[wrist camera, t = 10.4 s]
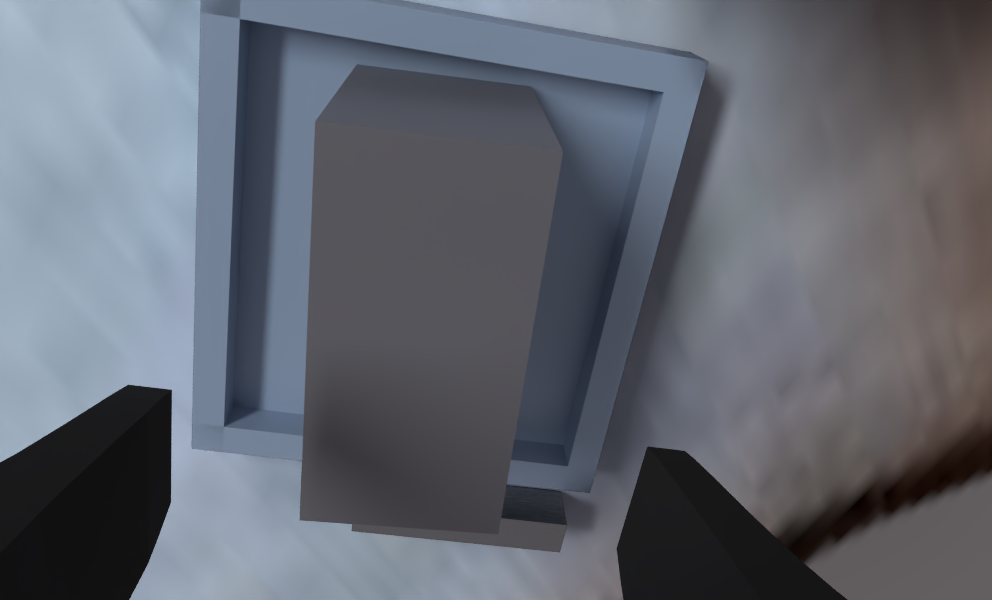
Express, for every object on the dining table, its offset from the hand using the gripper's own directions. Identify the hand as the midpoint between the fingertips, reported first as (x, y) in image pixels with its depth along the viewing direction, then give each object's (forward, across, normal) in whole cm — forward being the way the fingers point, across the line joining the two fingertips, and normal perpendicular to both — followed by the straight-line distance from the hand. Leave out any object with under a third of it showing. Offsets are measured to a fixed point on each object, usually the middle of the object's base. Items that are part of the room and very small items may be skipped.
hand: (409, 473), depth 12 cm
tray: (+9, 0, 0) cm, 9 cm away
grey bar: (+9, 0, 0) cm, 9 cm away
